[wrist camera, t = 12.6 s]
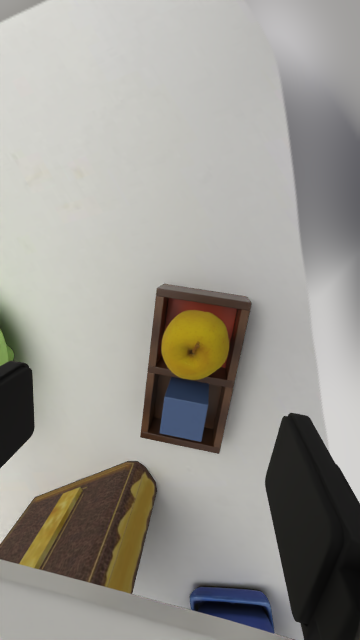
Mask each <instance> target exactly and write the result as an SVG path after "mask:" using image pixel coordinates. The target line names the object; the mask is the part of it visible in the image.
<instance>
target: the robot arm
mask: <svg viewBox="0 0 360 640" xmlns="http://www.w3.org/2000/svg"><path fill="white" fill-rule="evenodd" d="M33 431H34V404H33V380H32V370H31V369H30V368H29V366H28V364H26V363H21V362H15V361H9V362H7V363H5V364H3V365H1V366H0V468H1V467H2V466H3V465H4V464H5V463H6V462H7V461H8V460H9V459H10V458H11V457H12V456H13V455H14V454H15V453H16V452H17V450H18V449H19V448H20V447H21V446H22V445H23V444H24V443H25V442H26V441H27V440H28V439H29V438H30V437H31V436H32V434H33ZM265 486H266V492H267V497H268V501H269V506H270V511H271V516H272V520H273V525H274V530H275V534H276V539H277V544H278V549H279V553H280V558H281V563H282V567H283V572H284V577H285V582H286V586H287V591H288V596H289V601H290V605H291V610H292V614H293V617H294V619H295V621H296V622H300V623H301V627H302V631H303V636H304V640H360V503H359V501H358V500H357V498H356V496H355V494H354V493H353V491H352V489H351V487H350V486H349V484H348V482H347V480H346V479H345V477H344V475H343V473H342V471H341V470H340V468H339V467H338V466H337V465H336V464H335V462H334V461H333V459H332V457H331V455H330V453H329V452H328V450H327V448H326V446H325V444H324V443H323V441H322V439H321V437H320V435H319V434H318V432H317V430H316V428H315V426H314V425H313V423H312V421H311V419H310V418H309V417H308V416H305V415H300V414H295V413H290V414H289V415H288V417H287V416H284V417H283V418H282V421H281V425H280V428H279V432H278V435H277V439H276V442H275V446H274V449H273V453H272V456H271V460H270V463H269V467H268V470H267V474H266V479H265ZM0 640H294V639H291V638H287V637H284V636H281V635H277V634H274V633H270V632H267V631H264V630H260V629H257V628H253V627H250V626H246V625H243V624H240V623H236V622H233V621H229V620H226V619H222V618H219V617H215V616H211V615H208V614H204V613H200V612H197V611H193V610H189V609H185V608H182V607H178V606H174V605H171V604H167V603H163V602H159V601H156V600H152V599H148V598H145V597H141V596H137V595H133V594H130V593H126V592H122V591H119V590H115V589H111V588H107V587H104V586H100V585H96V584H92V583H88V582H85V581H81V580H77V579H73V578H70V577H66V576H62V575H58V574H54V573H51V572H47V571H43V570H39V569H35V568H31V567H28V566H24V565H20V564H16V563H12V562H9V561H5V560H1V559H0Z"/></svg>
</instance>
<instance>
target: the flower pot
mask: <svg viewBox="0 0 360 640" xmlns="http://www.w3.org/2000/svg"><path fill="white" fill-rule="evenodd" d="M190 606H191V610H193V611H197V612H200V613H204V614H208V615H211V616H215V617H219V618H222V619H226V620H229V621H233V622H236V623H240V624H243V625H246V626H250V627H253V628H257V629H260V630H264V631H267V632H270V633H274V625H273V618H272V612H271V606H270V603H269V600H268V598H267V597H266V596H265V595H264V594H263V593H262V592H261V591H256V590H248V589H235V588H217V587H198V588H196V589H195V590H194V591H193V592H192V593H191V595H190ZM274 634H275V633H274Z"/></svg>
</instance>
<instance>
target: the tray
mask: <svg viewBox="0 0 360 640" xmlns="http://www.w3.org/2000/svg"><path fill="white" fill-rule="evenodd" d="M251 304H252V303H251V301H250V300H249V299H248V297H246V296H239V295H233V294H226V293H220V292H213V291H207V290H201V289H194V288H188V287H181V286H175V285H168V284H163V285H161V286H160V287H158V288H157V293H156V301H155V310H154V319H153V328H152V337H151V346H150V355H149V364H148V365H149V366H148V373H147V382H146V391H145V400H144V409H143V418H142V427H141V436H140V437H142V438H146V439H151V440H156V441H161V442H165V443H170V444H175V445H180V446H184V447H189V448H194V449H199V450H203V451H208V452H213V453H218V454H219V452H220V447H221V443H222V438H223V433H224V429H225V424H226V419H227V415H228V410H229V406H230V401H231V396H232V392H233V387H234V382H235V378H236V373H237V368H238V364H239V359H240V355H241V350H242V345H243V341H244V336H245V331H246V327H247V322H248V318H249V313H250V308H251ZM188 310H198V311H204V312H210V313H212V314H214V315H215V316H217V317H218V318H219V319H221V320H222V321H223V323H224V324H225V326H226V328H227V332H228V338H229V352H228V356H227V359H226V361H225V363H224V364H223V365H222V366H221V367H220V368H219V369H217V370H216V371H215V372H213V373H212V374H210V375H209V376H207V377H205V378H203V379H199V380H192V381H197V382H202V383H208V384H209V400H208V409H207V415H206V420H205V425H204V431H203V436H202V441H201V442H199V441H194V440H189V439H185V438H180V437H175V436H170V435H165V434H160V426H161V418H162V411H163V403H164V397H165V394H166V391H167V388H168V385H169V382H170V379H171V377H176V378H180V377H178V376H176V375H175V374H174V373H173V372H172V371H171V370H170V369H169V368H168V367H167V365H166V363H165V361H164V359H163V356H162V352H161V347H162V339H163V335H164V333H165V331H166V329H167V327H168V325H169V324H170V322H171V321H172V320H173V319H174V318H175V317H176V316H177V315H178V314H180V313H182V312H184V311H188ZM181 379H183V378H181ZM186 380H189V379H186Z"/></svg>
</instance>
